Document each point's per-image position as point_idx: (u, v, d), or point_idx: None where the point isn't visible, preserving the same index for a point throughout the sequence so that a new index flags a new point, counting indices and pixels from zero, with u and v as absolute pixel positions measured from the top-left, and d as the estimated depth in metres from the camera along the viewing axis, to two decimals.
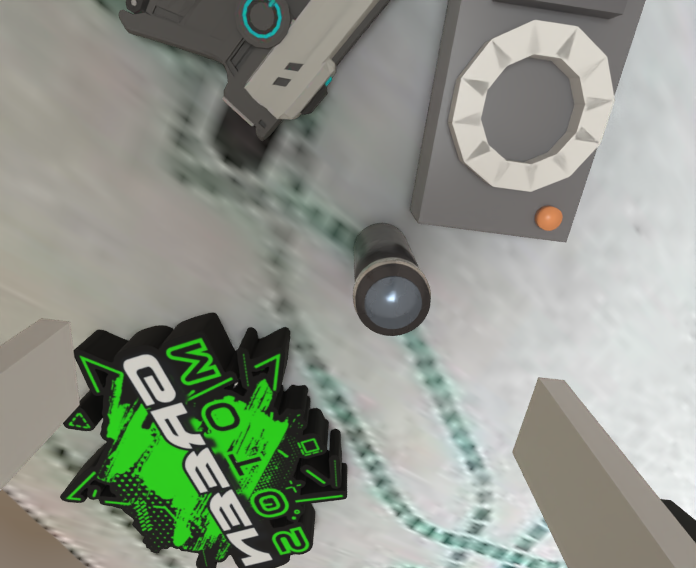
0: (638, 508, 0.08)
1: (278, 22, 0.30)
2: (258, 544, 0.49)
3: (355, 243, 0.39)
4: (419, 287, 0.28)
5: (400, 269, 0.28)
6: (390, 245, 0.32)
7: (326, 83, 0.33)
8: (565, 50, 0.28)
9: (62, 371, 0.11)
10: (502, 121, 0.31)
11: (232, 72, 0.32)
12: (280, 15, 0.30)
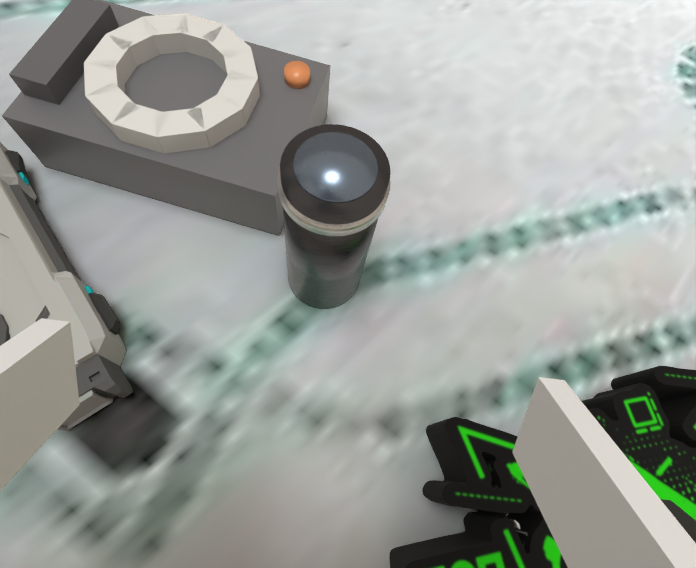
0: (638, 508, 0.08)
1: None
2: None
3: (306, 299, 0.29)
4: (318, 135, 0.20)
5: (286, 151, 0.20)
6: None
7: (89, 292, 0.26)
8: (123, 43, 0.29)
9: (62, 371, 0.11)
10: (182, 106, 0.29)
11: None
12: None
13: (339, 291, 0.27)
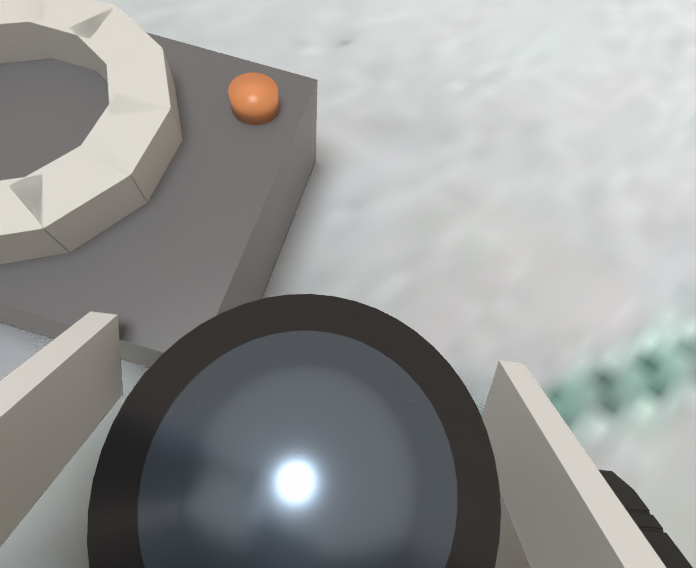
0: (574, 475, 0.09)
1: None
2: None
3: None
4: (249, 338, 0.06)
5: (125, 419, 0.05)
6: None
7: None
8: None
9: (110, 361, 0.12)
10: (25, 165, 0.15)
11: None
12: None
13: None
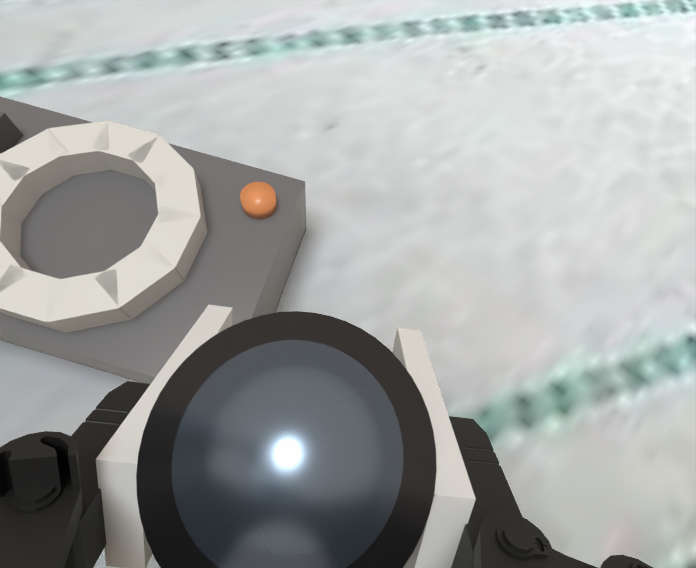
0: None
1: None
2: None
3: None
4: (249, 346, 0.08)
5: (159, 408, 0.07)
6: None
7: None
8: (16, 170, 0.21)
9: None
10: (98, 254, 0.21)
11: None
12: None
13: None
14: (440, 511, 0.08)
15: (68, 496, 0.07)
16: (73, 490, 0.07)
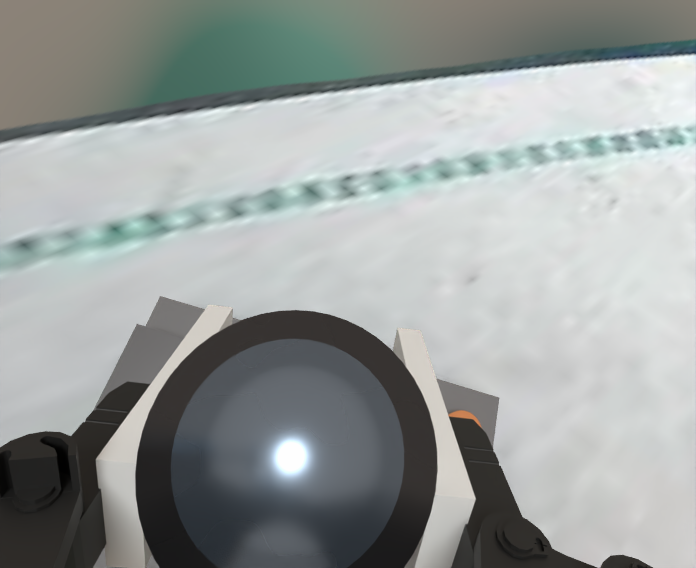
0: None
1: None
2: None
3: None
4: (249, 345, 0.08)
5: (158, 408, 0.07)
6: None
7: None
8: None
9: None
10: None
11: None
12: None
13: None
14: (440, 511, 0.08)
15: (68, 496, 0.07)
16: (73, 490, 0.07)
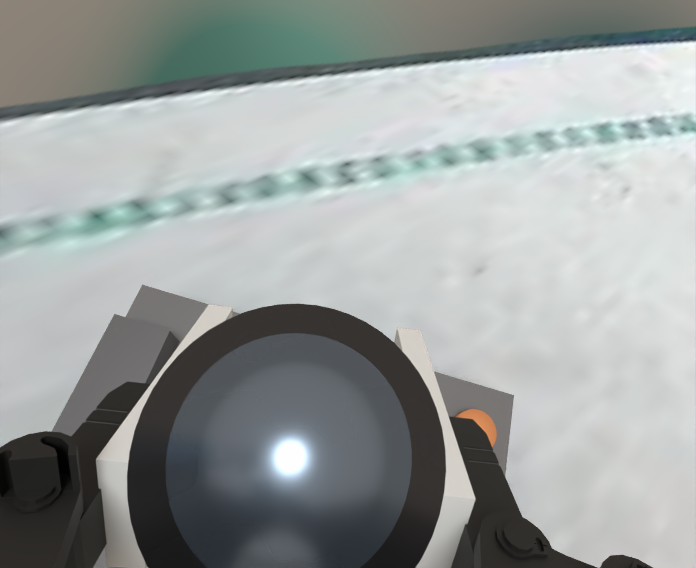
0: None
1: None
2: None
3: None
4: (248, 340, 0.08)
5: (152, 405, 0.07)
6: None
7: None
8: None
9: None
10: None
11: None
12: None
13: None
14: (440, 511, 0.08)
15: (68, 496, 0.07)
16: (73, 490, 0.07)
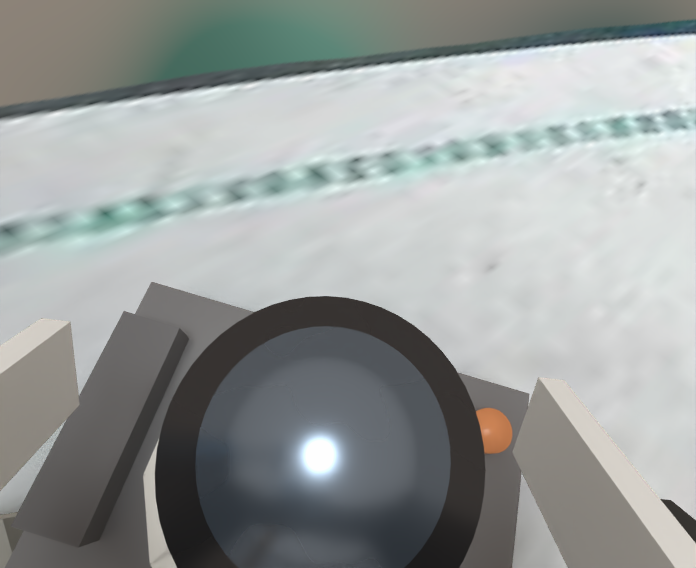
0: (638, 508, 0.08)
1: None
2: None
3: None
4: (277, 333, 0.07)
5: (179, 400, 0.07)
6: None
7: None
8: None
9: (62, 371, 0.11)
10: None
11: None
12: None
13: None
14: None
15: None
16: None
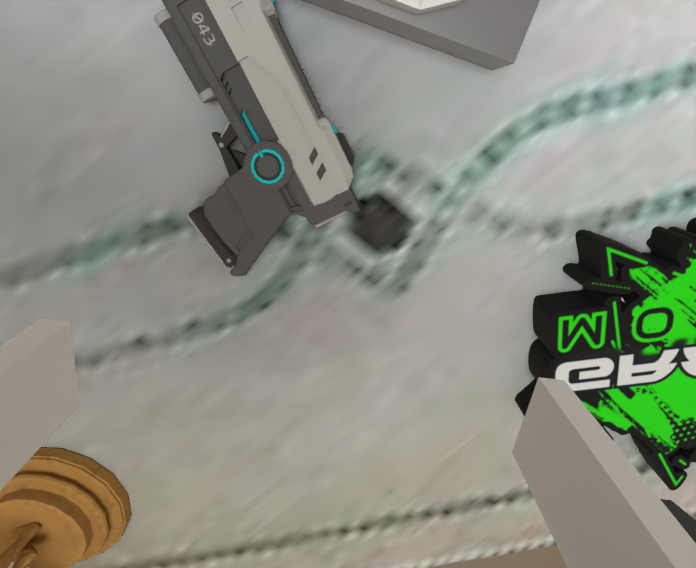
0: (638, 508, 0.08)
1: (276, 154, 0.34)
2: None
3: None
4: None
5: None
6: None
7: (335, 131, 0.35)
8: None
9: (62, 371, 0.11)
10: None
11: (299, 210, 0.36)
12: (271, 150, 0.34)
13: None
14: None
15: None
16: None
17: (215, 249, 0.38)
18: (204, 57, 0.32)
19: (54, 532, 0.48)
